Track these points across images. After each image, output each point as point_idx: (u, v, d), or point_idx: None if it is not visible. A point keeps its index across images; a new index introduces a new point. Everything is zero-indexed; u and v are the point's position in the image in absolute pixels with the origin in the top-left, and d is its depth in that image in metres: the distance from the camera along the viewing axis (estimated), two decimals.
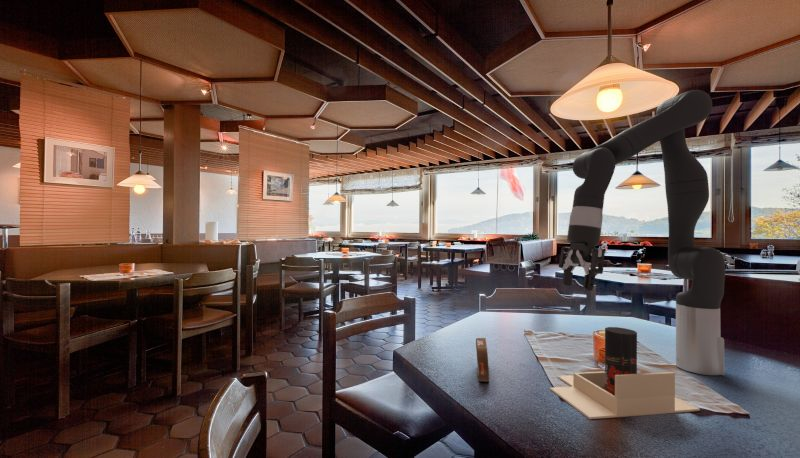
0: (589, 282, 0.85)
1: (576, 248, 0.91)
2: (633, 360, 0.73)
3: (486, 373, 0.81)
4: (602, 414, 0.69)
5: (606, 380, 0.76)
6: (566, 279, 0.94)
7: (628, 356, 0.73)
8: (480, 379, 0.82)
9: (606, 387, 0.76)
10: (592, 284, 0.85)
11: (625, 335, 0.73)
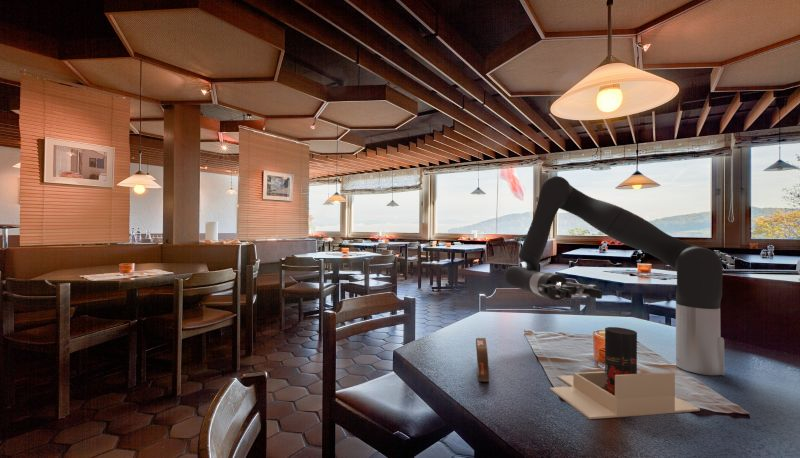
0: (561, 295, 0.89)
1: None
2: (633, 360, 0.73)
3: (486, 373, 0.81)
4: (602, 414, 0.69)
5: (606, 380, 0.76)
6: (595, 295, 0.90)
7: (628, 356, 0.73)
8: (480, 379, 0.82)
9: (606, 387, 0.76)
10: (562, 292, 0.88)
11: (625, 335, 0.73)
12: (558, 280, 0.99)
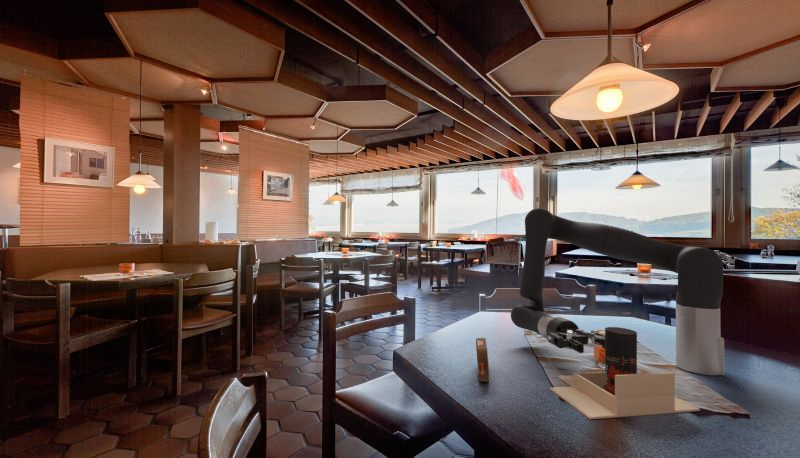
0: (573, 348, 0.84)
1: None
2: (633, 360, 0.73)
3: (486, 373, 0.81)
4: (602, 414, 0.69)
5: (606, 380, 0.76)
6: None
7: (628, 356, 0.73)
8: (480, 379, 0.82)
9: (606, 387, 0.76)
10: (574, 345, 0.83)
11: (625, 335, 0.73)
12: (568, 327, 0.94)
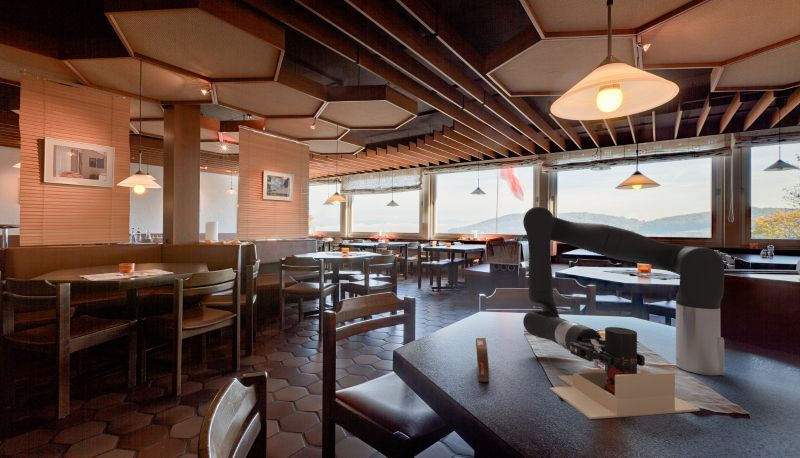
0: (605, 362, 0.75)
1: None
2: (633, 360, 0.73)
3: (486, 373, 0.81)
4: (602, 414, 0.69)
5: (606, 380, 0.76)
6: None
7: (628, 356, 0.73)
8: (480, 379, 0.82)
9: (606, 387, 0.76)
10: (606, 358, 0.75)
11: (625, 335, 0.73)
12: (590, 336, 0.86)
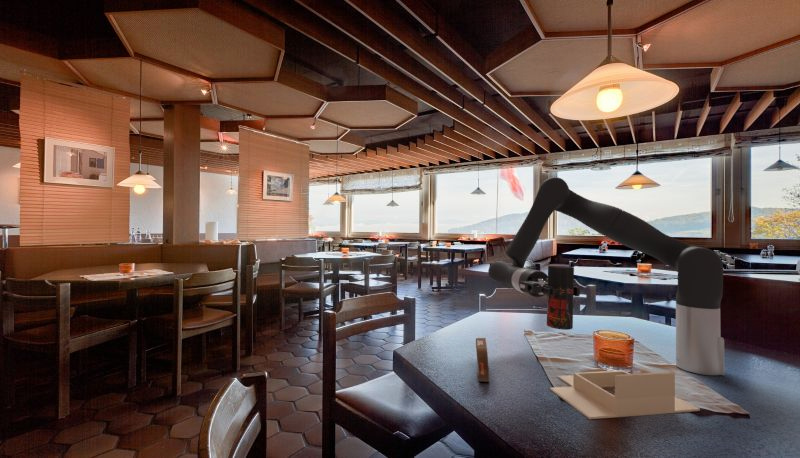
0: (545, 293, 0.86)
1: None
2: (569, 290, 0.85)
3: (486, 373, 0.81)
4: (602, 414, 0.69)
5: (547, 309, 0.88)
6: (573, 292, 0.87)
7: (565, 287, 0.85)
8: (480, 379, 0.82)
9: (547, 315, 0.88)
10: (546, 289, 0.86)
11: (563, 268, 0.85)
12: (539, 277, 0.97)
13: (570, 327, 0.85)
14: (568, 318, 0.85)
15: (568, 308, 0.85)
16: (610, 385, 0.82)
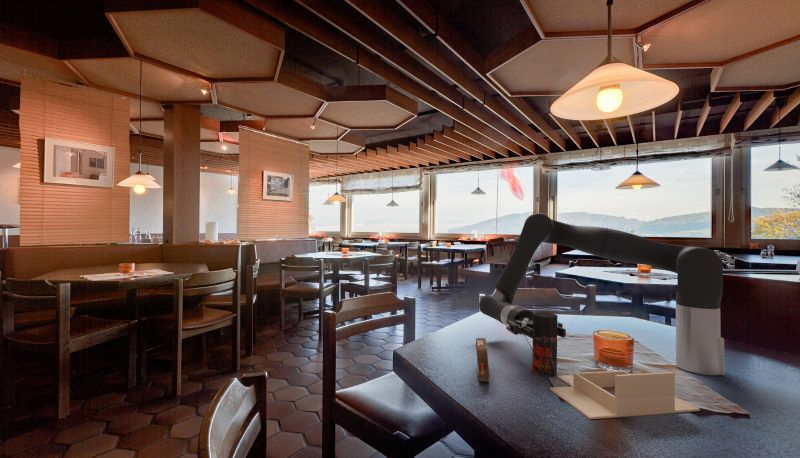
0: (526, 334, 0.90)
1: None
2: (552, 339, 0.88)
3: (486, 373, 0.81)
4: (602, 414, 0.69)
5: (532, 356, 0.91)
6: (559, 333, 0.91)
7: (548, 335, 0.88)
8: (480, 379, 0.82)
9: (532, 362, 0.91)
10: (526, 331, 0.90)
11: (546, 318, 0.88)
12: (526, 315, 1.00)
13: (554, 374, 0.88)
14: (552, 365, 0.88)
15: (552, 356, 0.88)
16: (610, 385, 0.82)
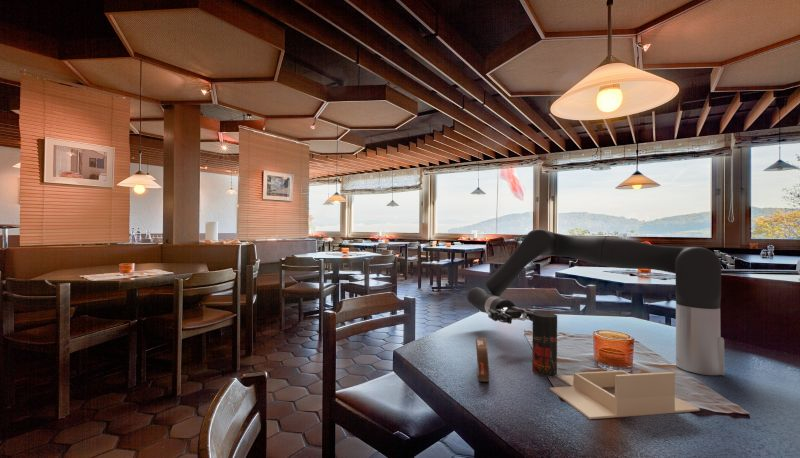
0: (504, 320, 1.03)
1: None
2: (552, 339, 0.88)
3: (486, 373, 0.81)
4: (602, 414, 0.69)
5: (532, 356, 0.91)
6: None
7: (548, 335, 0.88)
8: (480, 379, 0.82)
9: (532, 362, 0.91)
10: (504, 317, 1.03)
11: (546, 318, 0.88)
12: (506, 305, 1.13)
13: (554, 374, 0.88)
14: (552, 365, 0.88)
15: (552, 356, 0.88)
16: (610, 385, 0.82)
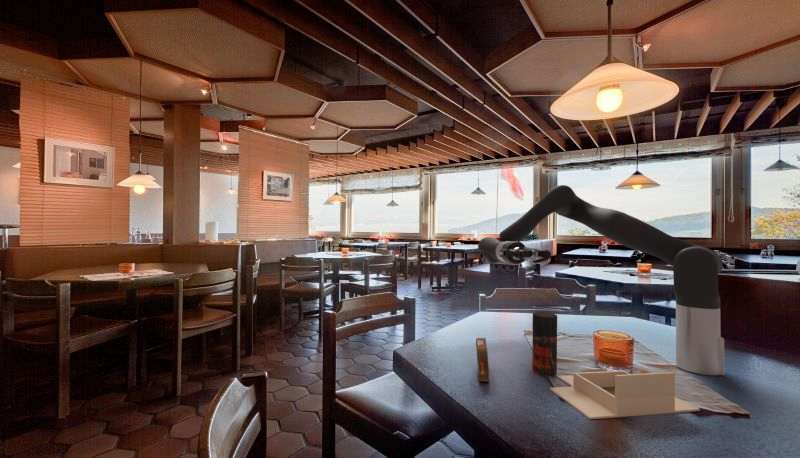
0: (516, 256, 1.05)
1: None
2: (552, 339, 0.88)
3: (486, 373, 0.81)
4: (602, 414, 0.69)
5: (532, 356, 0.91)
6: (545, 256, 1.06)
7: (548, 335, 0.88)
8: (480, 379, 0.82)
9: (532, 362, 0.91)
10: (517, 253, 1.04)
11: (546, 318, 0.88)
12: (517, 246, 1.15)
13: (554, 374, 0.88)
14: (552, 365, 0.88)
15: (552, 356, 0.88)
16: (610, 385, 0.82)
